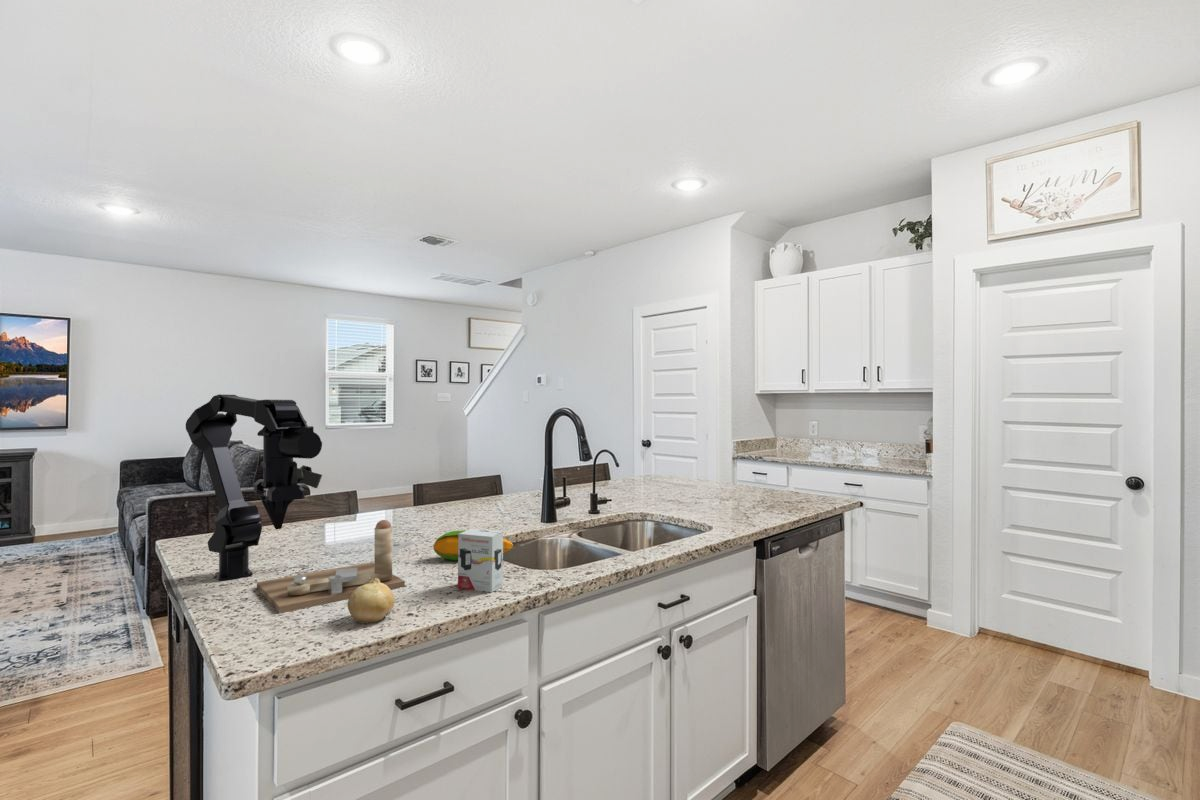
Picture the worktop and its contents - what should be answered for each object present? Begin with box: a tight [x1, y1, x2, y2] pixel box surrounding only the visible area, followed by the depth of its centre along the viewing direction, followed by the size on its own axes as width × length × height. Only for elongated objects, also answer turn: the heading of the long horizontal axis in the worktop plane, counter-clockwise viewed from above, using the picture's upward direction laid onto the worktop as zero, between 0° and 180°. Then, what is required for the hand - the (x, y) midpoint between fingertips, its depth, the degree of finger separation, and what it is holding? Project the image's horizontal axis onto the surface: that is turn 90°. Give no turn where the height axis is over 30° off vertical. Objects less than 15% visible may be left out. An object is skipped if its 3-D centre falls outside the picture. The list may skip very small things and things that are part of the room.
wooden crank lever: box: [288, 519, 393, 595], centre depth 120 cm, size 20×4×13 cm, turn 123°
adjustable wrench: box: [392, 539, 413, 559], centre depth 150 cm, size 25×6×2 cm, turn 2°
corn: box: [433, 529, 514, 561], centre depth 146 cm, size 7×8×20 cm
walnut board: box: [256, 561, 406, 614], centre depth 123 cm, size 20×24×1 cm
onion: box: [346, 577, 395, 624], centre depth 105 cm, size 8×8×7 cm
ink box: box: [457, 528, 504, 593], centre depth 123 cm, size 9×5×12 cm, turn 70°
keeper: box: [294, 568, 357, 595], centre depth 117 cm, size 8×12×3 cm, turn 131°
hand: (278, 528), depth 126 cm, fingers closed
